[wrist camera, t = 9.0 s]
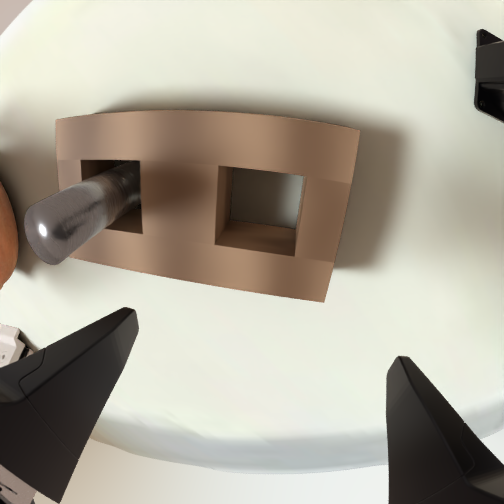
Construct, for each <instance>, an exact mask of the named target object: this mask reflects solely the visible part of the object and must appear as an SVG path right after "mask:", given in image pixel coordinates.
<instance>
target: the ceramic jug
mask: <svg viewBox="0 0 504 504" xmlns="http://www.w3.org/2000/svg"><path fill="white" fill-rule="evenodd" d="M17 258H18V232H17V226H16V221H15V217H14V213H13V210H12V206H11V203H10V201H9V198H8V196H7V193H6V191H5V189H4V187H3V185H2V184H1V182H0V290H1V288H2V287H3V284H4V283H5V282H6V281H7V280H8V279H9V278H10V276H11V275H12V273H13V271H14V269H15V266H16V263H17Z"/></svg>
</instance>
